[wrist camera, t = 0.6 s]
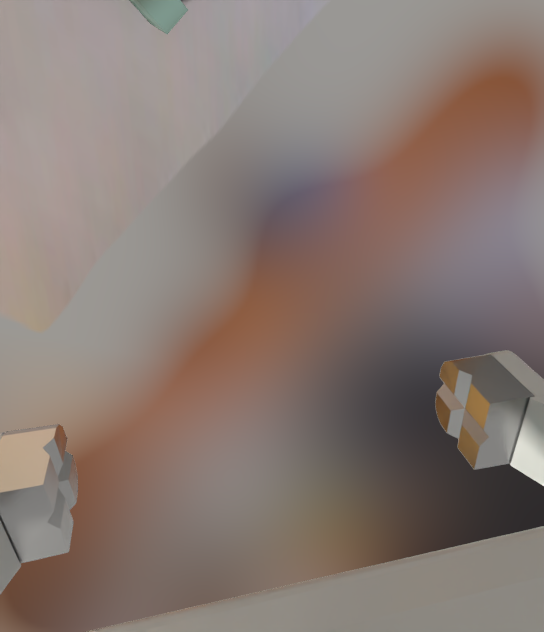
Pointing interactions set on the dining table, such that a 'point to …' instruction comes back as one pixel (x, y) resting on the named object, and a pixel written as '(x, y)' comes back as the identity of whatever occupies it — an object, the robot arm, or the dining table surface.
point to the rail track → (161, 12)
